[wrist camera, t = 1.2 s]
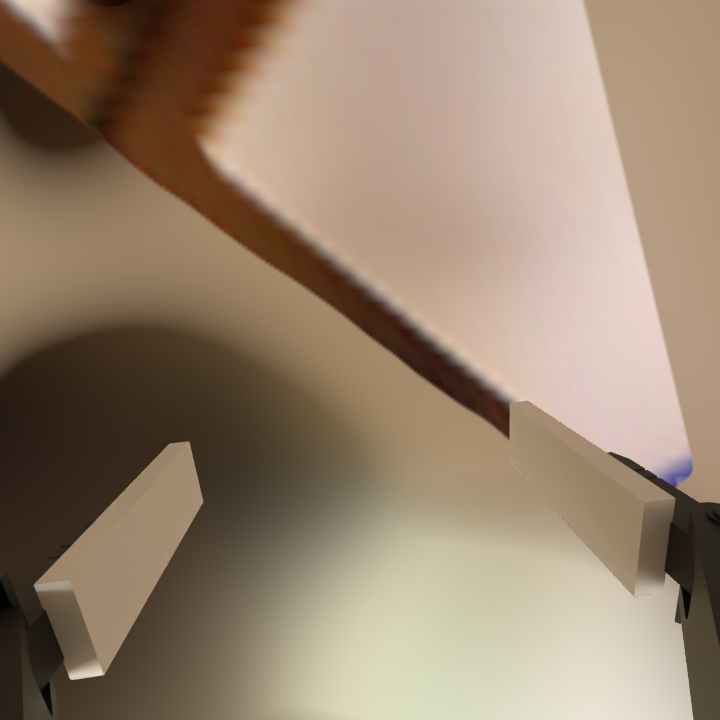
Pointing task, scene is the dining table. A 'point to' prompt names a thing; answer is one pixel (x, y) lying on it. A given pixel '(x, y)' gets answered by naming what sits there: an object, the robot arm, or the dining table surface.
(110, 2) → the supplement bottle
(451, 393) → the dining table surface
